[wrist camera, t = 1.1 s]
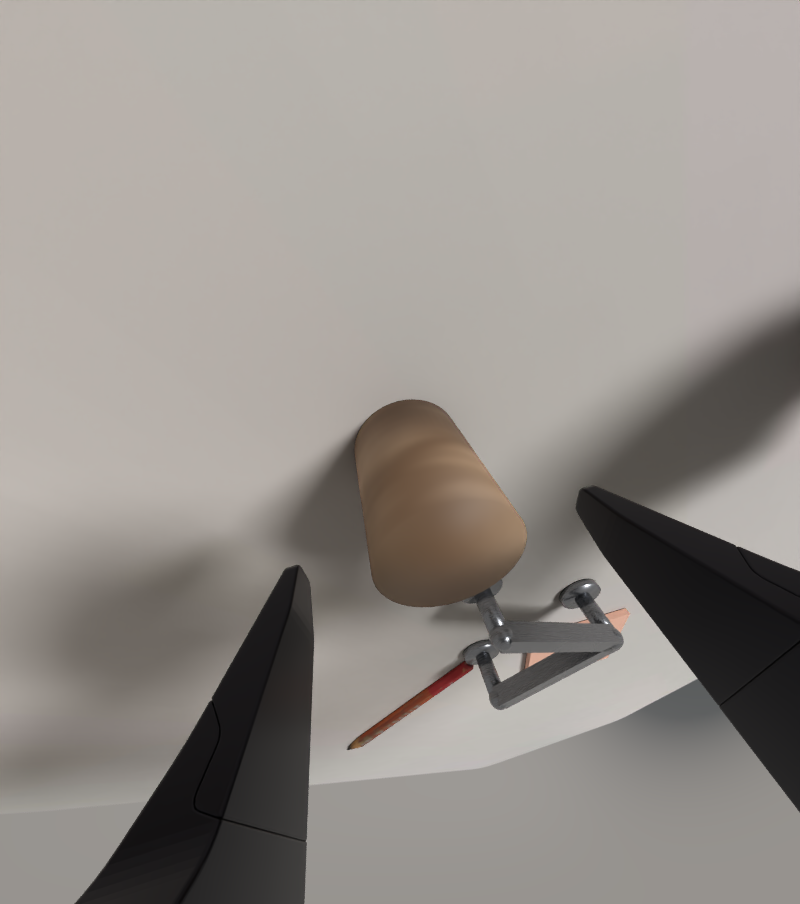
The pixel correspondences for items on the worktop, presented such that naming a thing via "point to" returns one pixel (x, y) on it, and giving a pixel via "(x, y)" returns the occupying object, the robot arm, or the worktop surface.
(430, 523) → the wooden dowel cylinder
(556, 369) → the worktop surface
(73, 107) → the worktop surface
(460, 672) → the pencil
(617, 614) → the terracotta mat
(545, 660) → the dark grey bent piece
